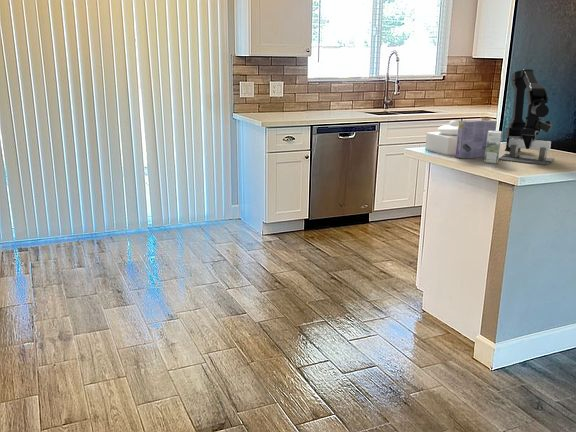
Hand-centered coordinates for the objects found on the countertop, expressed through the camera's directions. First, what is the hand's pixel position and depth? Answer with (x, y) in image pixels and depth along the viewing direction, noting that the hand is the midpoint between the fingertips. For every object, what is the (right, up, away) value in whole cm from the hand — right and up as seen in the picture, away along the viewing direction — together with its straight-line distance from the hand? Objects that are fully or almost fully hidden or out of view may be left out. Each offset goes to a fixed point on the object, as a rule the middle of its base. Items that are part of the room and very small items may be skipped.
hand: (528, 148), depth 264 cm
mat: (-5, -7, -5) cm, 10 cm away
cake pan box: (-24, -4, +4) cm, 25 cm away
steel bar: (0, 0, 0) cm, 0 cm away
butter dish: (-32, +1, +20) cm, 38 cm away
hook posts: (0, -5, +2) cm, 5 cm away
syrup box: (-21, -8, -8) cm, 24 cm away
